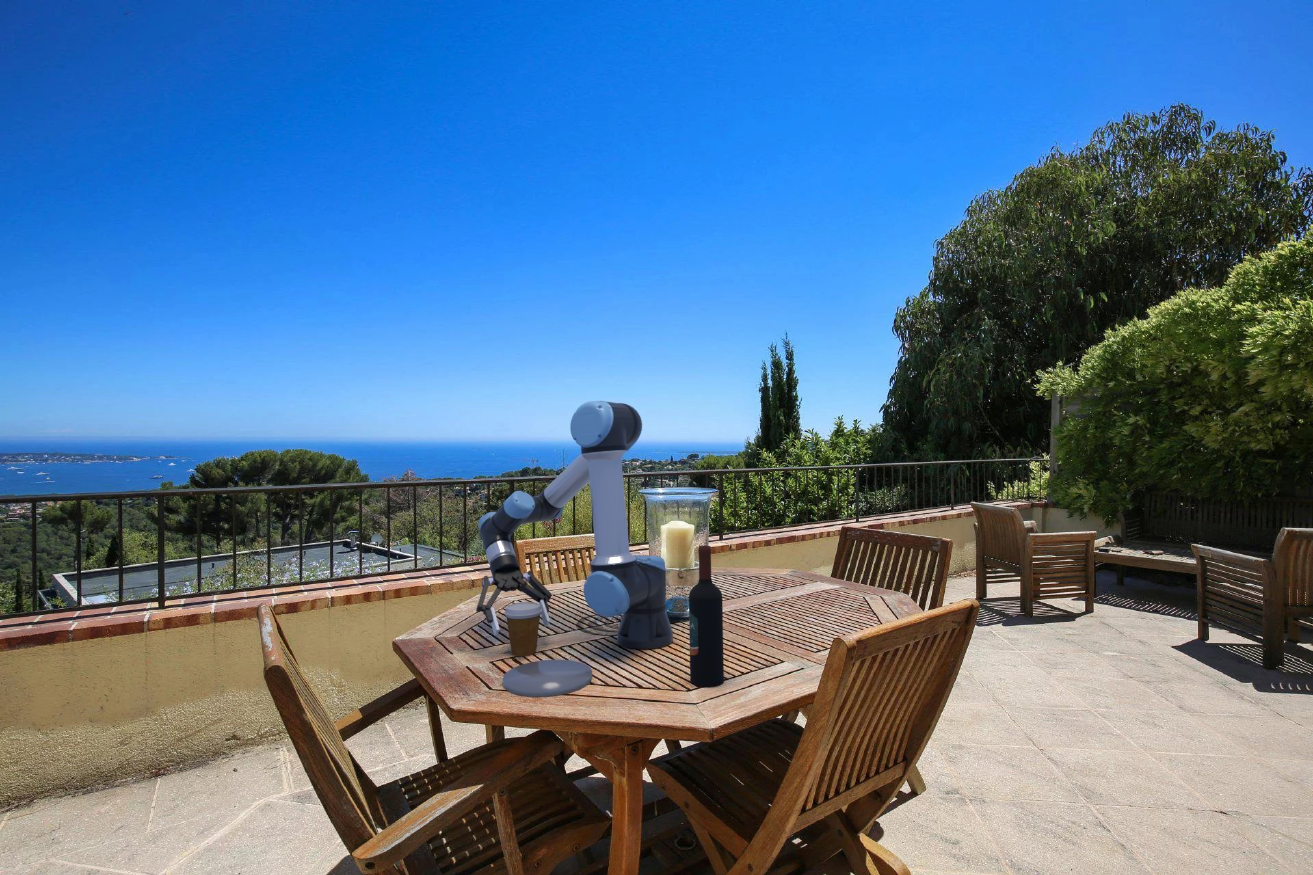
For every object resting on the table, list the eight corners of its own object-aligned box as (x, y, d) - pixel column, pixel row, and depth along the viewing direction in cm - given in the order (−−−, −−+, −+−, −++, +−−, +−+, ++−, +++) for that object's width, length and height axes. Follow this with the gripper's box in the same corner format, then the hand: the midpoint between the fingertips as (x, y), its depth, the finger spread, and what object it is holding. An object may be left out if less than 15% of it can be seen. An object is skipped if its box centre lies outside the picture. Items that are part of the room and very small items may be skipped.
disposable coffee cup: (507, 647, 165) (507, 602, 166) (544, 646, 166) (543, 600, 166) (502, 659, 156) (501, 611, 156) (540, 657, 157) (540, 609, 157)
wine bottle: (714, 689, 134) (712, 550, 135) (684, 683, 138) (681, 547, 139) (729, 678, 140) (727, 545, 141) (700, 672, 145) (697, 543, 145)
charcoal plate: (600, 665, 150) (600, 660, 150) (580, 698, 131) (580, 692, 131) (520, 663, 153) (520, 658, 153) (488, 695, 133) (488, 689, 133)
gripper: (541, 564, 183) (563, 627, 170) (454, 574, 169) (471, 644, 156) (548, 548, 178) (571, 612, 165) (460, 557, 165) (477, 628, 152)
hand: (522, 628), depth 161 cm, fingers open, 13 cm apart
